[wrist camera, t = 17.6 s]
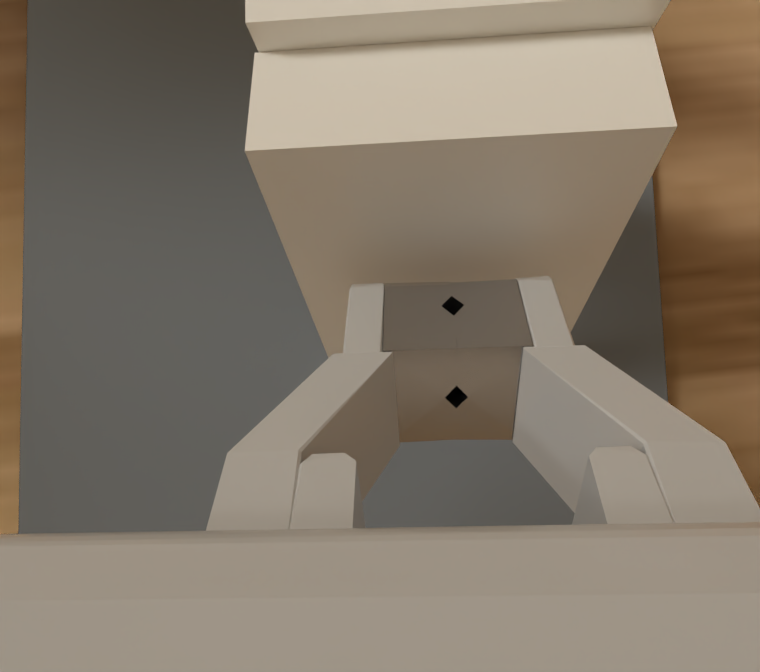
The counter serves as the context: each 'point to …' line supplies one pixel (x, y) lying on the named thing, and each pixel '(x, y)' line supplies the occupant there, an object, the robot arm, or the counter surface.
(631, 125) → the loose domino
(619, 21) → the domino
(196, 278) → the domino mat
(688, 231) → the counter surface
